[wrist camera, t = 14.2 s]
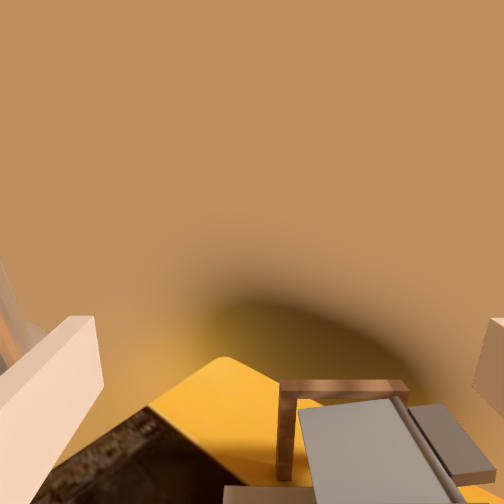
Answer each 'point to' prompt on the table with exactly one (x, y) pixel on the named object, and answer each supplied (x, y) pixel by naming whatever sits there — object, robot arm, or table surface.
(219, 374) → the table surface
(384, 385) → the trapdoor frame
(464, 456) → the flap
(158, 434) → the table surface
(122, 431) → the table surface
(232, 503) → the granite block
